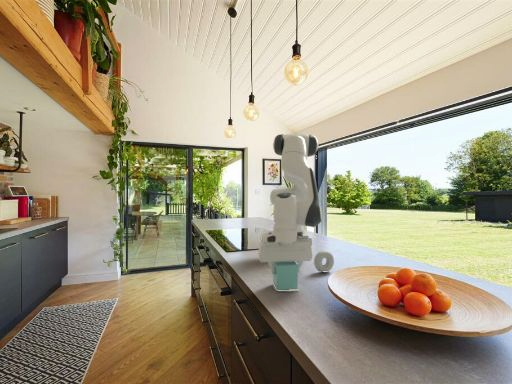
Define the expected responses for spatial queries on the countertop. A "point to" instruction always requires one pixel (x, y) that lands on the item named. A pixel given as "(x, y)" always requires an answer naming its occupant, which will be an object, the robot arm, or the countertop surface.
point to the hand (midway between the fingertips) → (285, 273)
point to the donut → (328, 263)
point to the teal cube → (285, 275)
